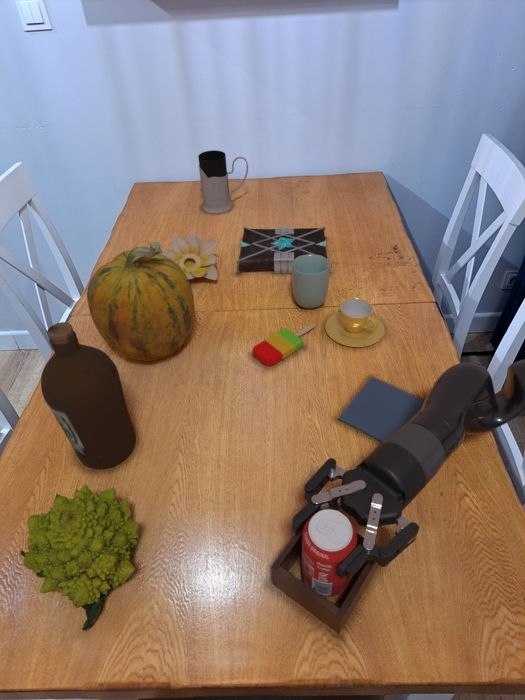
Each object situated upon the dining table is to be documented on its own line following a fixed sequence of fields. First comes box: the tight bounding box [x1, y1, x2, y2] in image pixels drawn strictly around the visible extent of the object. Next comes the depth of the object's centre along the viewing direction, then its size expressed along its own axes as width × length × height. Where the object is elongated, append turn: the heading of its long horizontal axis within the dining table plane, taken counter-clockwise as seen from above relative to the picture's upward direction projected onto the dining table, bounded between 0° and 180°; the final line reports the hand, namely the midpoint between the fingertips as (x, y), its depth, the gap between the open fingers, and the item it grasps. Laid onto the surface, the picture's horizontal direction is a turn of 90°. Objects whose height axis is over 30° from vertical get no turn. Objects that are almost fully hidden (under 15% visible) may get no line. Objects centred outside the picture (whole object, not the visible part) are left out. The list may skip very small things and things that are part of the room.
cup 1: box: [291, 254, 331, 310], centre depth 104 cm, size 8×8×10 cm
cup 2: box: [324, 297, 386, 348], centre depth 98 cm, size 12×12×5 cm
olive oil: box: [40, 321, 137, 470], centre depth 72 cm, size 11×11×25 cm
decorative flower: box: [160, 231, 219, 281], centre depth 114 cm, size 15×11×10 cm
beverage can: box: [300, 510, 357, 598], centre depth 60 cm, size 6×6×12 cm
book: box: [236, 226, 330, 274], centre depth 121 cm, size 22×17×5 cm
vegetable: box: [20, 483, 140, 632], centre depth 63 cm, size 15×16×15 cm
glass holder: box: [197, 149, 249, 214], centre depth 139 cm, size 9×14×15 cm, turn 100°
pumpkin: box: [86, 241, 195, 362], centre depth 91 cm, size 19×19×25 cm
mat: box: [338, 376, 425, 443], centre depth 83 cm, size 14×12×1 cm
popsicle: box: [252, 323, 317, 367], centre depth 97 cm, size 6×15×2 cm, turn 131°
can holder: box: [270, 531, 380, 635], centre depth 62 cm, size 10×10×5 cm
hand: (315, 551), depth 56 cm, fingers closed on beverage can, 6 cm apart
